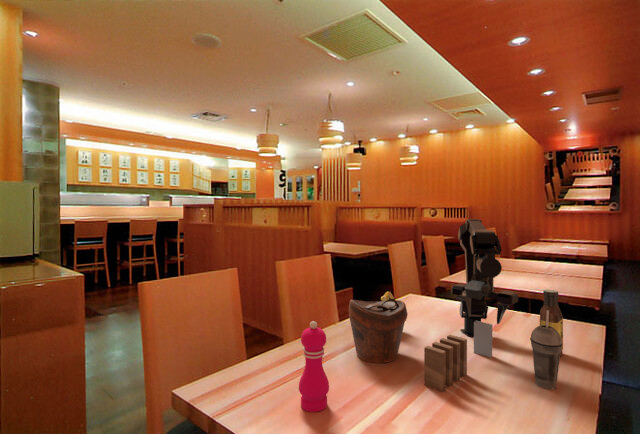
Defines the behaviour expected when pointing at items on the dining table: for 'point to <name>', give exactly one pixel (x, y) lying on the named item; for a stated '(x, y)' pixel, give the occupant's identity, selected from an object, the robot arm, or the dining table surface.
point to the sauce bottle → (552, 312)
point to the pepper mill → (313, 370)
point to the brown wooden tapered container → (377, 328)
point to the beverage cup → (546, 354)
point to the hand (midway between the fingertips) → (483, 320)
